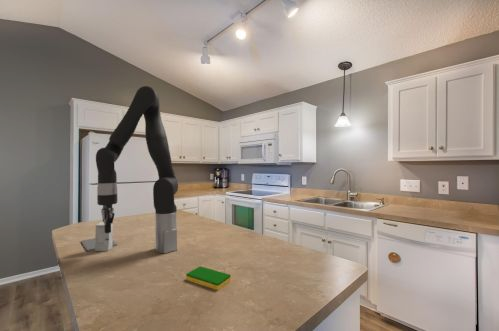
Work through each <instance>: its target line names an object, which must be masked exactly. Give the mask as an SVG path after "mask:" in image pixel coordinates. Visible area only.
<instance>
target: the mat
mask: <svg viewBox="0 0 499 331" xmlns="http://www.w3.org/2000/svg"><path fill="white" fill-rule="evenodd" d="M80 242H81V244H82V245H83V247H84V248H85V250H86V251H87V252H92V251H95V238H94V237H93V238H90V239H84V240H81V241H80ZM115 246H118V243H116V241H115V240H113V242H112V247H115Z"/></svg>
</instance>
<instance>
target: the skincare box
mask: <svg viewBox="0 0 499 331" xmlns="http://www.w3.org/2000/svg"><path fill="white" fill-rule="evenodd" d="M94 237H95V250H94V251H95V252H96V251H97V252H108V251H110V250H111V249H112V248H113V246H112V242H113V241H114V240H113V238H114V222H113V223H112V224H111V232H110V233H105V227H104V222H103V221H100V222H98V223H97V224H96V225H95V236H94Z"/></svg>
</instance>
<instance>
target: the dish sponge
mask: <svg viewBox="0 0 499 331" xmlns="http://www.w3.org/2000/svg"><path fill="white" fill-rule="evenodd" d="M231 279H232V278H231V274H230V273H229V274H228V273H225V272H222V271H218V270H215V269H212V268H208V267H205V266H197V267H196V268H194V269H192V270H190V271H189V272H186V281H188V282H192V283H195V284H197V285H200V286H203V287H206V288H210V289H213V290H216V291H219V290H221V289H222V288H224V286H226V285H227V284H229V283H230V282H231Z"/></svg>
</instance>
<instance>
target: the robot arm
mask: <svg viewBox="0 0 499 331" xmlns="http://www.w3.org/2000/svg"><path fill="white" fill-rule="evenodd" d="M160 107H161V106H160V98H159V96H158V94H157V91H156V90H155V89H154V88H153V87H151V86H148V85H143V86H141V87H139V88H138V89H137V90H136V93H135V94H134V96H133V99H132V101H131V103H130V105H129V107H128V108H127V110H126V112H125V114H124V115H123V117H122V119H121V120H120V122H119V123H118V125H117V126H116V128H115V129H114V130H113V131H112V133H111V134H110V135H109V138H108V140H109V141H108V143H107V144H106V146H105V147H100V148H99V149H98V150H97V151H96V154H95V164H96V169H97V190H96V192H97V197H96V198H97V199H96V200H97V203H96V204H97V205H98V206H102V208H101V211H100V212H101V216H102V217H101V218H102V222H104V227H105V233H110V232H111V224H112V223H114V219H115V215H116V214H115V209H114V208H113V205H115V204H116V205H117V203H118V185H117V184H118V182H117V178H118V177H117V171H116V169H115V163H116V161H118V159H119V158H120V156H121V154H122V152H123V150H124V148H125V147H126V145H127V144H128V142H129V140H130V139H131V138H132V137H133V135H134V134H135V131H136V129H137V127H138V124H139V122H140V119H141V118H142V117H144V123H145V127H144V128H145V130H144V131H145V132H144V133H145V134H144V136H145V141H146V146H147V147H146V148H147V150H148V153H149V155H150V158H151V160H152V162H153V164H154V165H155V168H156V171H157V175H158V179H157V180H156V181H155V182H154V184H153V186H152V195H153V208H154V211H155V215H154V216H155V252H157V253H159V254H167V253H171V252H174V251H177V250H178V226H177V224H178V223H177V222H178V221H177V216H178V215H177V213H178V212H177V207H178V206H177V205H176V204H175V195H176V193H177V192H178V190H179V183H178V180H177V178H176V174H175V171H174V168H173V164H172V163H173V162H172V157H171V151H170V146H169V141H168V137H167V132H166V130H165V126H164V124H163V120H162V117H161V108H160Z"/></svg>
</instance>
